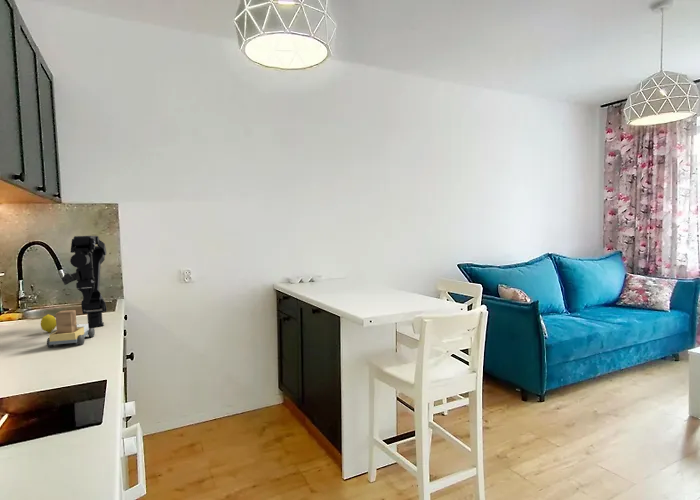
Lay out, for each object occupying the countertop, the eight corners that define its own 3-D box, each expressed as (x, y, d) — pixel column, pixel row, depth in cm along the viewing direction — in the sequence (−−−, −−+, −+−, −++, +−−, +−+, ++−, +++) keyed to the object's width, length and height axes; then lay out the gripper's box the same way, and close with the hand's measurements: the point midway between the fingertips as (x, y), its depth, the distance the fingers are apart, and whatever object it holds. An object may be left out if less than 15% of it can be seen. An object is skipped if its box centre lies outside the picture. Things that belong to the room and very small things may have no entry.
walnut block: (62, 336, 164) (61, 310, 164) (77, 335, 166) (75, 309, 165) (57, 339, 160) (55, 313, 159) (72, 338, 161) (70, 312, 160)
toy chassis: (64, 337, 173) (63, 325, 173) (95, 335, 176) (94, 322, 175) (45, 349, 157) (44, 335, 157) (80, 346, 160) (79, 332, 160)
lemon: (60, 330, 185) (58, 312, 184) (50, 334, 180) (48, 315, 179) (48, 330, 186) (47, 312, 185) (38, 334, 180) (36, 315, 180)
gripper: (63, 265, 183) (66, 301, 184) (59, 268, 167) (62, 308, 168) (93, 263, 189) (96, 298, 190) (92, 266, 173) (95, 304, 174)
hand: (87, 302), depth 180 cm, fingers open, 9 cm apart
